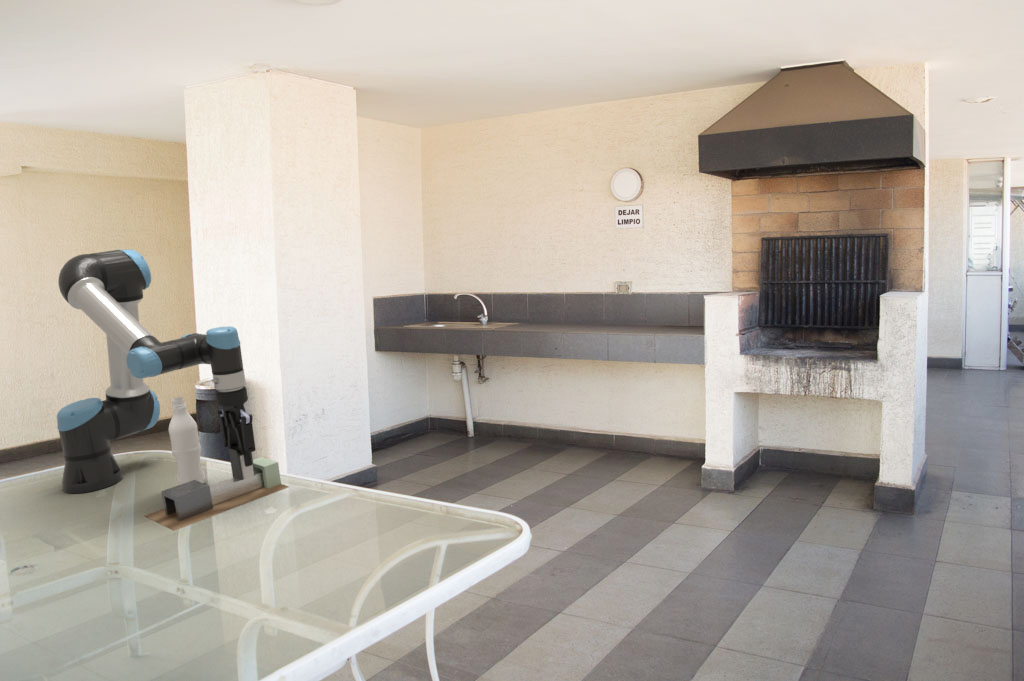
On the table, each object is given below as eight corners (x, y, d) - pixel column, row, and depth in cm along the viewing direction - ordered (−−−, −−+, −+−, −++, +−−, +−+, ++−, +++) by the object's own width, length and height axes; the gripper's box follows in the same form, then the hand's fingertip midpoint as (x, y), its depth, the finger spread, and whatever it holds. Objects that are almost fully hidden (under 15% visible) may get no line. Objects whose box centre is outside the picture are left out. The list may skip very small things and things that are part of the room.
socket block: (251, 483, 214) (248, 461, 212) (264, 478, 216) (261, 457, 215) (267, 488, 208) (264, 466, 207) (281, 483, 211) (278, 462, 210)
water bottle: (198, 481, 221) (183, 393, 216) (212, 486, 217) (197, 396, 212) (173, 490, 216) (158, 400, 211) (187, 495, 211) (172, 403, 207)
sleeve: (165, 514, 197) (161, 491, 195) (198, 502, 203) (194, 479, 202) (179, 521, 191) (175, 497, 190) (213, 508, 198) (209, 485, 196)
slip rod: (189, 508, 199) (181, 462, 197) (264, 480, 214) (258, 438, 212) (196, 511, 196) (189, 465, 194) (272, 483, 211) (266, 440, 209)
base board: (144, 519, 197) (143, 515, 197) (257, 478, 219) (256, 475, 219) (174, 534, 186) (173, 530, 186) (290, 490, 209) (289, 486, 208)
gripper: (200, 387, 206) (214, 474, 210) (234, 395, 194) (247, 486, 199) (227, 381, 211) (240, 465, 216) (261, 388, 200) (274, 477, 204)
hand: (243, 475), depth 207 cm, fingers closed on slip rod, 4 cm apart
